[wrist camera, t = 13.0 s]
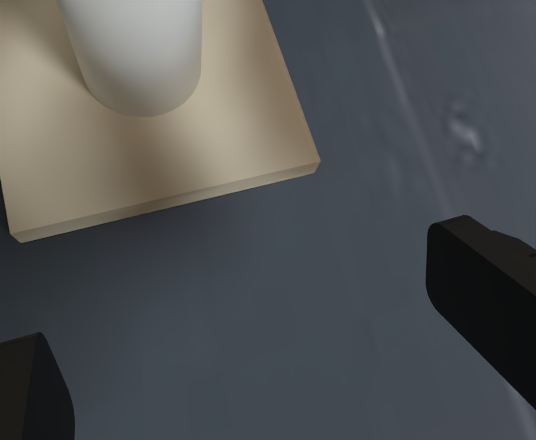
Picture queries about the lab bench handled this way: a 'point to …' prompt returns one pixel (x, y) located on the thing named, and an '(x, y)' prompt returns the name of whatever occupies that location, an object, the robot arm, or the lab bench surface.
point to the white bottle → (137, 51)
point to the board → (141, 125)
